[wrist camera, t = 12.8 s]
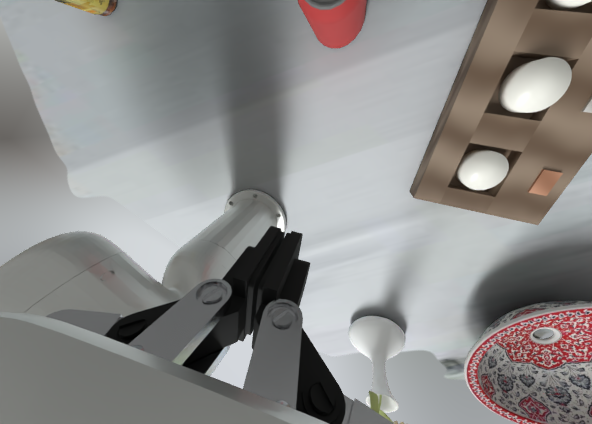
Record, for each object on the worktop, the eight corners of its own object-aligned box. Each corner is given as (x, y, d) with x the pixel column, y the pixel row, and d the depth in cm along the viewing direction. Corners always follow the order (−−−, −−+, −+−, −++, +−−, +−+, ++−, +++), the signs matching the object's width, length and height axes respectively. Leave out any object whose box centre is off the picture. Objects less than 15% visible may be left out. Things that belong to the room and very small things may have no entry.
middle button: (537, 115, 25) (550, 116, 24) (489, 108, 26) (499, 108, 24) (567, 64, 23) (584, 60, 21) (514, 58, 24) (527, 54, 22)
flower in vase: (406, 348, 49) (448, 547, 27) (353, 346, 52) (351, 519, 30) (400, 303, 44) (445, 499, 22) (342, 304, 48) (332, 472, 26)
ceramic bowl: (447, 376, 49) (463, 421, 42) (446, 270, 39) (466, 306, 32) (635, 392, 40) (695, 453, 33) (698, 258, 30) (805, 305, 23)
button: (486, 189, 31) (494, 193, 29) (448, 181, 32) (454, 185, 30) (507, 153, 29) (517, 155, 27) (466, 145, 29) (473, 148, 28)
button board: (523, 215, 32) (539, 225, 29) (409, 191, 35) (414, 198, 32) (737, -93, 19) (806, -129, 16) (527, -98, 21) (554, -130, 18)
